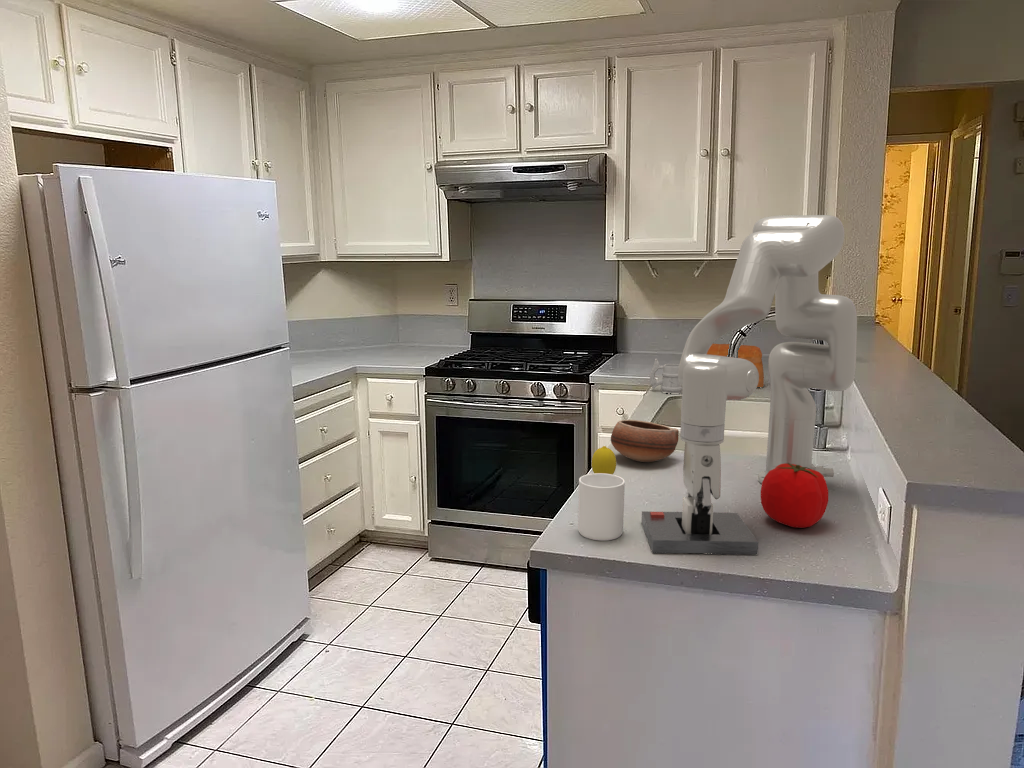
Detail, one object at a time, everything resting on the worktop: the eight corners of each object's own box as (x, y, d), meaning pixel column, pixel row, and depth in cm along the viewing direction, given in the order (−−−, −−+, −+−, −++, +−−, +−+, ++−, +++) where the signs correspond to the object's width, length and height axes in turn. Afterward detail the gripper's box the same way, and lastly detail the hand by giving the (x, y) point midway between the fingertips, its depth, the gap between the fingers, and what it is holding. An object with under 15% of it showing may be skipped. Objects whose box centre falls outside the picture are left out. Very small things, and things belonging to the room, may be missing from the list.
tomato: (774, 536, 138) (779, 475, 136) (747, 510, 151) (750, 455, 149) (839, 534, 139) (844, 474, 136) (806, 509, 152) (810, 454, 150)
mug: (682, 395, 264) (684, 361, 261) (648, 393, 266) (649, 360, 264) (682, 390, 271) (684, 358, 269) (649, 389, 273) (650, 356, 271)
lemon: (599, 475, 173) (600, 441, 172) (620, 480, 170) (621, 445, 168) (586, 480, 169) (587, 446, 167) (607, 485, 166) (608, 450, 164)
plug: (706, 526, 138) (708, 487, 137) (711, 535, 134) (714, 495, 133) (681, 525, 139) (683, 486, 137) (686, 535, 134) (688, 495, 133)
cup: (576, 539, 136) (577, 486, 134) (580, 516, 147) (581, 466, 146) (622, 542, 135) (624, 488, 133) (623, 518, 146) (625, 468, 144)
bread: (691, 378, 295) (693, 340, 292) (763, 383, 287) (765, 343, 284) (688, 385, 282) (690, 345, 279) (763, 389, 274) (766, 348, 271)
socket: (736, 524, 143) (737, 509, 143) (757, 555, 129) (758, 538, 129) (641, 523, 144) (641, 508, 143) (652, 553, 130) (653, 536, 129)
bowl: (688, 462, 183) (690, 422, 182) (645, 474, 174) (646, 432, 172) (640, 448, 196) (641, 411, 194) (597, 459, 186) (598, 419, 184)
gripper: (735, 444, 124) (729, 548, 128) (712, 420, 141) (707, 513, 144) (690, 444, 125) (685, 547, 128) (672, 420, 141) (668, 512, 145)
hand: (696, 528), depth 136 cm, fingers closed on plug, 4 cm apart
